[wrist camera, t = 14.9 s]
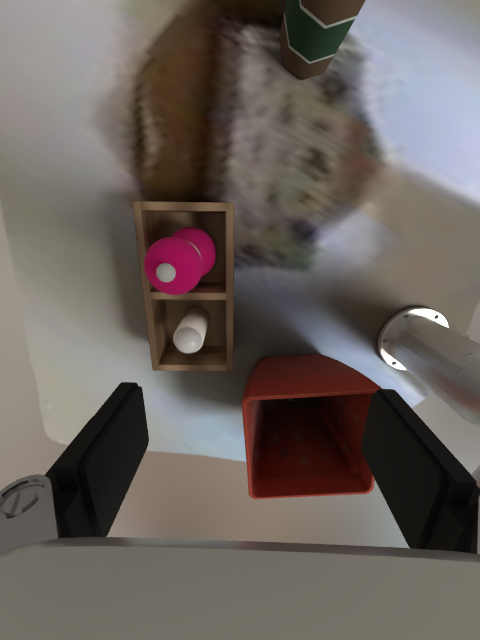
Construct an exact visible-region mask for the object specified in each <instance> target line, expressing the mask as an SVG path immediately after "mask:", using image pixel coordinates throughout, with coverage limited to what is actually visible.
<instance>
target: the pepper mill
mask: <svg viewBox="0 0 480 640" xmlns="http://www.w3.org/2000/svg"><path fill="white" fill-rule="evenodd" d="M216 255H217V254H216V247H215V244H214V242H213V240H212V238H211V237H210V236H209V235H208V234H207V233H206V232H205V231H203V230H201V229H199V228H195V227H186V228H182V229H180V230H178V231H177V232H175V233H174V234H173V235H172V236H171V237H166V238H163V239H160V240H158V241H157V242H155V243H154V244H153V245H152V246H151V247H150V248H149V249H148V251H147V253H146V256H145V259H144V270H145V274H146V276H147V278H148V280H149V282H150V283H151V284H152V285H153V286H154V287H155V288H156V289H157V290H159V291H161V292H163V293H165V294H169V295H180V294H184V293H186V292H188V291H190V290H192V289H193V288H194V287H195V286H196V285H197V284H198V282H199V280H200V278H201V276H203V275H205V274H206V273H208V272H209V271H210V270H211V269H212V267H213V266H214V263H215V261H216Z"/></svg>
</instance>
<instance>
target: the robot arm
mask: <svg viewBox="0 0 480 640" xmlns="http://www.w3.org/2000/svg"><path fill="white" fill-rule="evenodd" d="M378 351H379V353H380V356H381V357H382V359H383V360H384V361H385V362H386V363H387V364H389V365H390V366H392V367H394V368H396V369H401V370H408V371H409V372H410V373H411V374H413V375H414V376H415V377H416V378H417V379H418V380H419V381H420V382H422V383H423V384H424V385H425V386H426V387H427V388H428V389H430V390H431V391H432V392H433V393H434V394H435V395H436V396H438V397H439V398H440V399H441V400H442V401H443V402H445V403H446V404H447V405H448V406H449V407H450V408H451V409H452V410H454V411H455V412H456V413H457V414H458V415H459V416H461V417H462V418H463V419H465V420H467V421H468V422H470V423H472V424H474V425H476V426H479V427H480V343H478V342H476V341H474V340H472V339H471V338H470V337H469V335H462V334H460V333H458V332H456V331H454V330H452V329H450V328H449V326H448V323H447V321H446V319H445V318H444V317H443V316H442V315H441V314H440V313H438V312H437V311H435V310H432V309H430V308H425V307H414V308H409V309H406V310H403V311H401V312H399V313H397V314H396V315H395V316H393V317H392V318H391V319H390V320H389V321H388V322H387V323H386V324H385V325H384V327H383V328H382V330H381V332H380V334H379V338H378ZM148 442H149V436H148V429H147V421H146V414H145V407H144V399H143V392H142V388H141V387H140V386H138V384H137V383H130V382H122V383H120V384H119V386H118V387H117V388H116V389H115V391H114V392H113V393H112V394H111V396H110V397H109V398H108V399H107V400H106V402H105V403H104V404H103V405H102V407H101V408H100V409H99V410H98V412H97V413H96V414H95V415H94V416H93V417H92V418H91V419H90V420H89V421H88V423H87V424H86V425H85V426H84V428H83V429H82V430H81V431H80V432H79V434H78V435H77V436H76V437H75V439H74V440H73V441H72V442H71V444H70V445H69V446H68V447H67V449H66V450H65V451H64V452H63V453H62V455H61V456H60V457H59V459H58V460H57V461H56V462H55V463H54V464H53V466H52V467H51V468H50V469H49V471H48V472H47V473H46V474H45V475H38V474H37V475H30V476H27V477H24V478H21V479H18V480H16V481H15V482H13V483H11V484H9V485H8V486H6V487H5V488H3V489H2V490H1V491H0V640H480V466H479V467H478V468H477V469H476V470H475V471H474V472H473V473H472V474H470V473H469V472H468V471H467V470H466V469H465V468H464V467H463V465H462V464H461V463H460V462H459V461H458V460H457V459H456V458H455V457H454V455H453V454H452V453H451V452H450V451H449V450H448V449H447V448H446V447H445V445H444V444H443V443H442V442H441V441H440V440H439V439H438V438H437V437H436V435H435V434H434V433H433V432H432V431H431V430H430V429H429V428H428V426H427V425H426V424H425V423H424V422H423V421H422V420H421V419H420V418H419V416H418V415H417V414H416V413H415V412H414V411H413V410H412V409H411V407H410V406H409V405H408V404H407V403H406V402H405V401H404V400H403V399H402V397H401V396H400V395H399V394H398V393H397V392H396V391H395V390H392V389H378V390H377V391H376V393H373V394H372V396H371V401H370V405H369V410H368V414H367V419H366V423H365V428H364V432H363V437H362V441H361V451H362V454H363V457H364V459H365V461H366V463H367V464H368V466H369V468H370V470H371V472H372V474H373V476H374V478H375V480H376V482H377V484H378V486H379V488H380V490H381V492H382V494H383V496H384V498H385V500H386V502H387V504H388V506H389V508H390V510H391V512H392V514H393V516H394V518H395V520H396V522H397V524H398V526H399V528H400V530H401V532H402V534H403V536H404V538H405V540H406V542H407V544H408V546H409V547H410V548H393V547H372V546H349V545H327V544H302V543H278V542H253V541H252V542H251V541H226V540H197V539H167V538H131V537H130V538H129V537H106V536H107V535H108V533H109V531H110V528H111V526H112V524H113V522H114V519H115V517H116V515H117V513H118V511H119V509H120V506H121V504H122V502H123V500H124V498H125V495H126V493H127V491H128V489H129V486H130V484H131V482H132V480H133V478H134V475H135V473H136V471H137V469H138V467H139V464H140V462H141V460H142V458H143V456H144V453H145V451H146V449H147V446H148Z"/></svg>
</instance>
